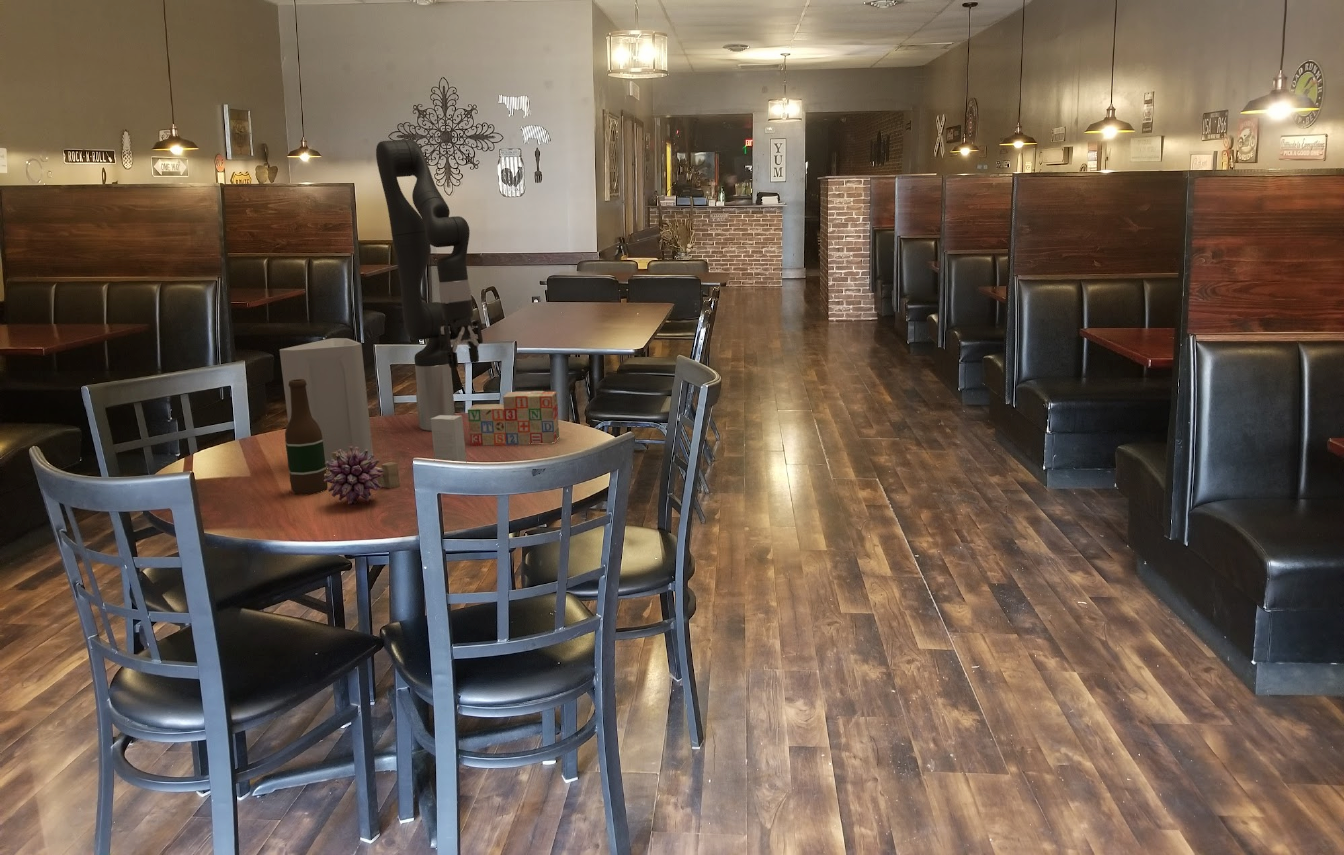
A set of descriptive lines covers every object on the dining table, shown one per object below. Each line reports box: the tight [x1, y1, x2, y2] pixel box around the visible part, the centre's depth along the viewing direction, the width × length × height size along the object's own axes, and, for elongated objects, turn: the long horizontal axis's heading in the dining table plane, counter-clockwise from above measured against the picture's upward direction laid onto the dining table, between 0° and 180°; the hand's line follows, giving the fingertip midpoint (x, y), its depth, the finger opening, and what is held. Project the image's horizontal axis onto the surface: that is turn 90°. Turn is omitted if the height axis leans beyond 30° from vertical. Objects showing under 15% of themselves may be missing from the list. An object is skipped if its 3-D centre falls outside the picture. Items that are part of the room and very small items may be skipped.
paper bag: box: [279, 337, 374, 468], centre depth 258 cm, size 19×15×28 cm
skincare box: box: [430, 415, 467, 462], centre depth 248 cm, size 6×4×12 cm
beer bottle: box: [284, 379, 329, 495], centre depth 233 cm, size 8×8×24 cm
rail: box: [332, 451, 401, 489], centre depth 242 cm, size 22×2×5 cm, turn 48°
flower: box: [324, 447, 383, 505], centre depth 223 cm, size 12×12×12 cm
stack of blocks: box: [467, 390, 560, 446], centre depth 272 cm, size 21×6×12 cm, turn 85°
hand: (464, 365), depth 273 cm, fingers open, 8 cm apart
